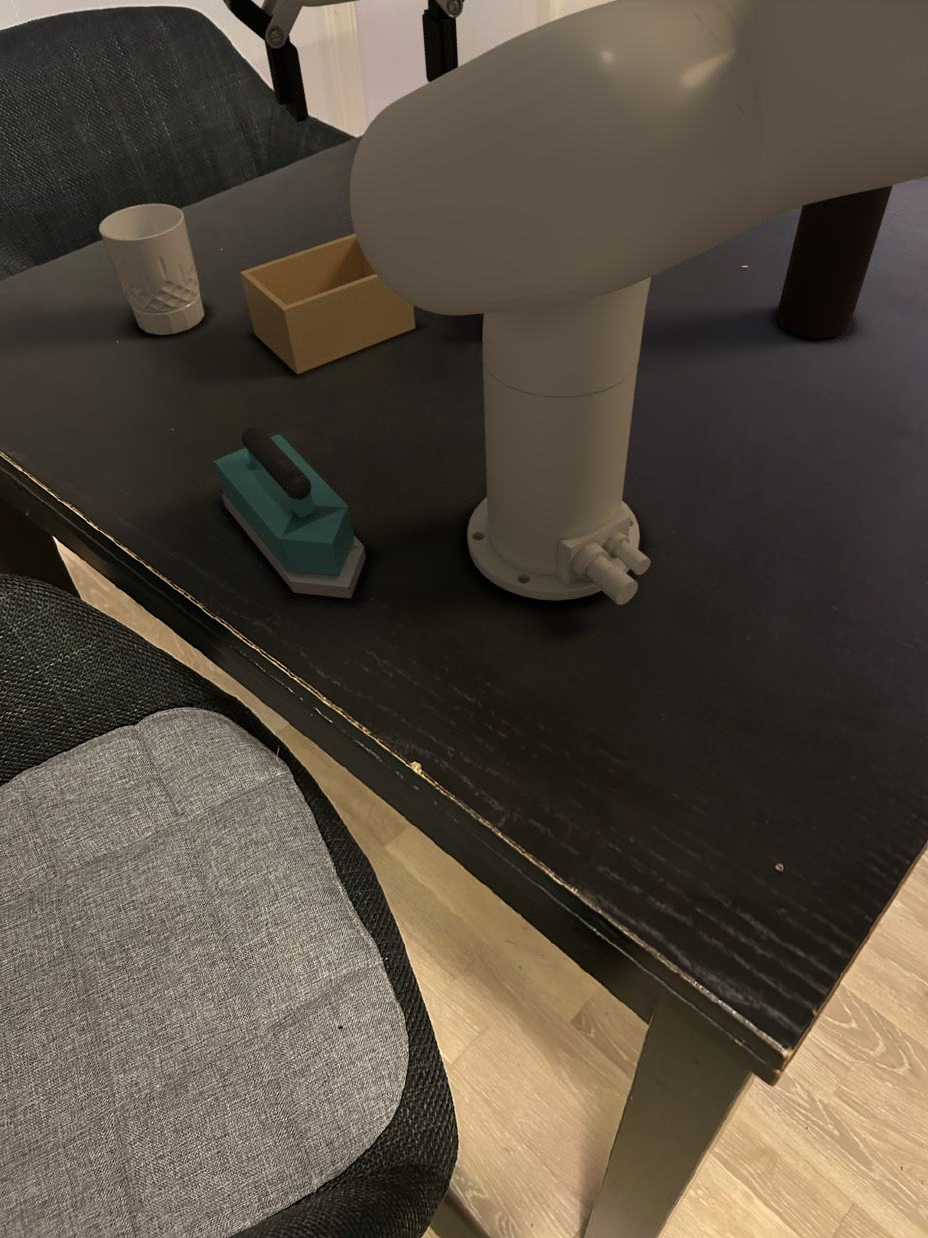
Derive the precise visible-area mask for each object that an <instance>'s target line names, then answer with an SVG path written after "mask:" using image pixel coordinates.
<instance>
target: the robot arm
mask: <svg viewBox="0 0 928 1238" xmlns="http://www.w3.org/2000/svg"><path fill="white" fill-rule="evenodd" d="M357 1H358V2H359V0H263V3H262V5H261V6H259V5H258V4H257V3H256V2H254V1H253V0H222V2H223V3H224V5H225V7H226V8H227V9H228V11H229V12H231V14H232V15H233V16H234V17H235V18H236V19H237V20H239V21H240V22H241V23H242V24H244V25H245V26H246V27H247V28H248V29H249V30H251V31H252V32H253V33H254V34H255V35H256V36H258V37H259V38H260V39H262V41H264V46H265V52H266V57H267V63H268V67H269V68H268V69H269V72H270V77H271V82H272V83H271V85H272V89H273V93H274V97H275V100H276V102H277V104H278V105H279V106H283V105H285V109H286V110H287V112H288V113H289V114H290V115H291V116H292V118H293V119H294V120H295V121H296V122H297V123H301V122H306V121H307V119H308V118H309V111H308V106H307V105H308V104H307V98H306V92H305V86H304V80H303V73H302V67H301V62H300V56H299V51H298V48H297V46H296V45H294V44H293V43H292V42H291V38H290V34H291V31H292V29H293V28H294V25H295V22H296V21H297V18H298V17H299V14H300V12H301V10H302V8H303V7H306V8H318V7H325V6H332V5H339V4H345V3H346V4H347V3H351V2H357ZM426 1H427V8H425V9H423V13H422V15H421V20H422V21H421V23H422V24H421V25H422V38H423V49H424V51H423V52H424V63H425V65H424V66H425V75H426V76H425V77H426V81H427V83H426V84H424V85H422V86H420V87H418V88H417V89H415V90H413V91H411V92H409V93H407V94H405V95H404V96H401V97H400V98H398V99H396V100H395V101H392V102H391V103H390V104H389V105H387V106H386V107H384V108H383V109H382V110H381V111H380V112H379V113H378V114H377V115H376V116H375V117H373V120H371V122H369V125H368V126H367V128H366V129H365V131H364V133H363V135H362V137H361V138H360V141H359V143H358V145H357V148H356V150H355V154H354V157H353V160H352V166H351V170H350V178H349V193H348V194H349V200H348V201H349V210H350V211H349V212H350V217H351V223H352V226H353V231H354V234H356V237H357V240H358V243H359V245H360V248H361V250H362V252H363V254H364V256H365V258H366V259H367V261H368V263H369V264H370V266H371V267H372V269H373V270H374V272H375V273H376V274H377V275H378V277H379V278H380V279H381V280H382V281H383V282H384V283H385V284H386V285H387V286H388V287H389V288H390V289H391V290H392V291H393V292H394V293H395V294H397V295H398V296H399V297H401V298H402V299H404V300H405V301H407V302H408V303H410V304H412V305H413V307H416V308H418V309H420V310H424V311H426V312H428V313H433V314H437V315H442V316H443V315H445V316H469V315H480V314H481V313H484V319H483V330H482V334H481V335H482V338H481V341H482V383H483V385H482V387H483V413H484V414H483V415H484V441H485V442H484V444H485V468H486V469H485V471H486V473H485V474H486V497H485V498H484V499H482V500H481V501H480V503H479V504H478V505H477V506H476V507H475V508H474V511H473V512H472V515H471V516H470V518H469V521H468V526H467V530H466V532H467V535H466V536H467V548H468V552H469V556H470V558H471V560H472V562H473V564H474V566H475V567H476V568H477V569H478V571H479V572H480V573H481V574H482V575H483V577H485V578H486V579H488V581H490V582H491V583H492V584H494V585H496V586H498V587H499V588H501V589H503V590H505V591H507V592H509V593H513V594H515V595H519V596H521V597H523V598H524V597H525V598H529V599H530V598H531V599H535V600H540V601H541V600H543V601H566V600H576V599H579V598H585V597H588V596H592V595H594V594H597V593H600V592H603V593H604V594H605V595H606V596H607V597H608V598H609V599H611V600H612V601H613V602H614V603H615V604H616V605H618V606H623V605H625V604H628V602H629V601H630V600H632V599H633V598H634V596H635V594H636V593H637V591H638V588H639V584H638V582H637V581H636V580H635V579H634V578H633V577H631V576H630V575H629V574H627V573H628V572H629V571H631V572H632V573H633V574H635V575H637V576H641V575H643V574H645V573H646V572H647V570H648V569H649V568H650V566H651V564H652V561H651V559H650V558H649V557H648V556H647V555H645V553H643V552H642V551H640V550H639V546H640V539H641V535H640V534H641V533H640V527H639V526H640V525H639V523H638V521H637V518H636V516H635V514H634V512H633V511H632V510H631V508H630V507H629V505H628V504H627V503H626V502H625V501H623V493H624V485H625V476H626V470H627V469H626V467H627V461H628V460H627V459H628V451H629V444H630V443H629V442H630V435H631V426H632V425H631V424H632V417H633V409H634V400H635V391H636V381H637V373H638V365H639V361H640V354H641V347H642V339H643V338H642V337H643V330H644V322H645V314H646V308H647V302H648V298H649V297H648V296H649V292H650V285H651V282H652V277H653V276H656V275H658V274H660V273H663V272H664V271H667V270H668V269H670V268H673V267H675V266H677V265H679V264H681V263H683V262H686V261H688V260H689V259H692V258H693V257H695V256H698V255H700V254H701V253H703V252H706V251H708V250H709V249H712V248H714V247H716V246H718V245H720V244H722V243H724V242H726V241H728V240H730V239H732V238H734V237H736V236H738V235H740V234H742V233H744V232H747V231H748V230H750V229H752V228H754V227H755V226H758V225H760V224H761V223H763V222H765V221H767V220H770V219H771V218H773V217H775V216H778V215H780V214H782V213H785V212H788V211H791V210H793V209H797V208H799V207H802V206H803V205H807V204H810V203H815V202H819V201H823V200H827V199H831V198H835V197H839V196H844V195H849V194H854V193H858V192H863V191H868V190H872V189H877V188H882V187H887V186H891V185H893V186H895V185H899V184H902V183H906V182H909V181H914V180H917V179H922V178H925V177H928V0H611V1H608V2H605V3H602V4H598V5H595V6H592V7H589V8H585V9H582V10H579V11H576V12H573V13H570V14H567V15H565V16H562V17H559V18H557V19H553V20H551V21H549V22H547V23H543V24H541V25H540V26H537V27H534V28H532V29H530V30H528V31H525V32H523V33H520V34H519V35H517V36H514V37H512V38H510V39H508V40H505V41H504V42H502V43H500V44H497V46H494V47H493V48H491V49H489V50H486V51H485V52H483V53H482V54H480V55H478V56H476V57H474V58H472V59H470V60H469V61H467V62H465V63H463V64H461V65H459V52H458V49H459V48H458V32H457V31H458V30H457V18H458V17H460V15H461V14H462V13H463V9H464V3H465V1H466V0H426Z"/></svg>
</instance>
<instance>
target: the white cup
mask: <svg viewBox="0 0 928 1238" xmlns="http://www.w3.org/2000/svg"><path fill="white" fill-rule="evenodd" d="M98 230H99V234H100V236H101V239H102V242H103V244H104V246H105V249H106V251H107V254H108V257H109V259H110V261H111V264H112V266H113V269H114V272H115V274H116V276H117V280H118V281H119V283H120V285H121V288H122V290H123V293H124V295H125V297H126V300H127V301H128V303H129V305H130V307H131V310H132V312H133V315H134V318H135V320H136V323H137V324H138V328H140V329H141V330H143V331H144V332H145V333H147V334H152V335H157V336H168V335H176V334H179V333H182V332H186V331H189V330H190V329H192V328H193V327H196V326H197V325H198V324H200V323H201V322H202V320H203V318H204V317H205V310H204V306H203V301H202V296H201V292H200V287H201V285H200V283H199V278H198V270H197V267H196V264H195V263H196V262H195V259H194V258H195V257H194V254H193V250H192V245H191V241H190V238H189V232H188V228H187V224H186V220H185V214H184V212H183V211H182V210H181V209H180V208H178V207H176V206H175V205H171V204H165V203H144V204H137V205H132V206H128V207H125V208H122V209H120V210H117V211H114V212H113V213H111V214H109V215H108V216H106V217H105V218H104V219H103V220H102V221H101V222H100V224H99V226H98Z"/></svg>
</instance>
